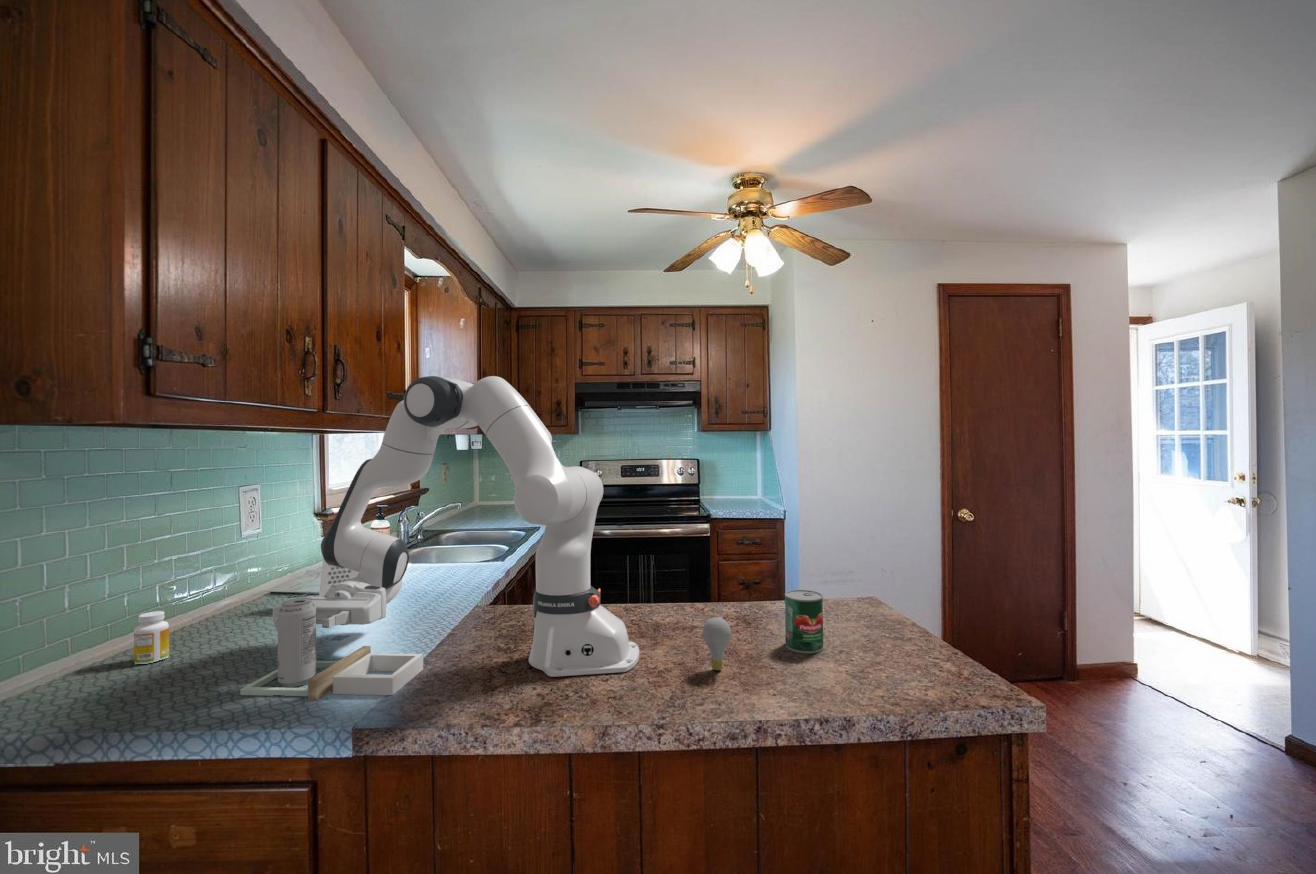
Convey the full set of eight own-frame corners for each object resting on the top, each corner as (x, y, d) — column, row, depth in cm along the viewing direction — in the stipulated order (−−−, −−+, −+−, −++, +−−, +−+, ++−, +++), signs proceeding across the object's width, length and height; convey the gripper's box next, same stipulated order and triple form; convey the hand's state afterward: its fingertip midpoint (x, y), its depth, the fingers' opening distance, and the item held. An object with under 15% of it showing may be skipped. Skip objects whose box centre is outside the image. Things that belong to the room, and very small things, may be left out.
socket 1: (355, 666, 110) (355, 661, 110) (310, 696, 97) (310, 690, 97) (293, 665, 111) (293, 660, 111) (240, 695, 98) (240, 689, 98)
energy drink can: (290, 676, 106) (290, 597, 106) (322, 674, 106) (322, 596, 107) (270, 689, 100) (270, 606, 100) (304, 688, 100) (304, 605, 101)
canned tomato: (808, 656, 112) (808, 602, 112) (777, 645, 118) (776, 594, 118) (831, 647, 117) (830, 595, 117) (800, 637, 123) (799, 587, 123)
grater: (362, 606, 152) (361, 533, 152) (317, 612, 146) (316, 537, 147) (360, 597, 161) (360, 528, 161) (318, 602, 156) (317, 531, 156)
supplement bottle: (163, 653, 118) (163, 608, 118) (173, 658, 116) (173, 612, 116) (129, 662, 114) (129, 615, 114) (139, 667, 111) (139, 619, 111)
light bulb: (736, 668, 107) (735, 616, 107) (724, 678, 102) (723, 624, 102) (710, 662, 110) (709, 612, 110) (698, 672, 105) (697, 619, 105)
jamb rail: (370, 663, 112) (370, 646, 112) (316, 700, 96) (316, 680, 96) (363, 663, 112) (363, 646, 112) (308, 700, 96) (308, 680, 96)
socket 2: (423, 669, 108) (423, 654, 108) (392, 695, 97) (392, 678, 97) (369, 668, 109) (369, 653, 109) (332, 694, 98) (332, 677, 98)
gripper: (300, 587, 119) (249, 606, 105) (392, 587, 118) (352, 607, 104) (301, 616, 119) (249, 639, 105) (392, 617, 118) (352, 640, 104)
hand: (301, 623), depth 104 cm, fingers open, 8 cm apart
